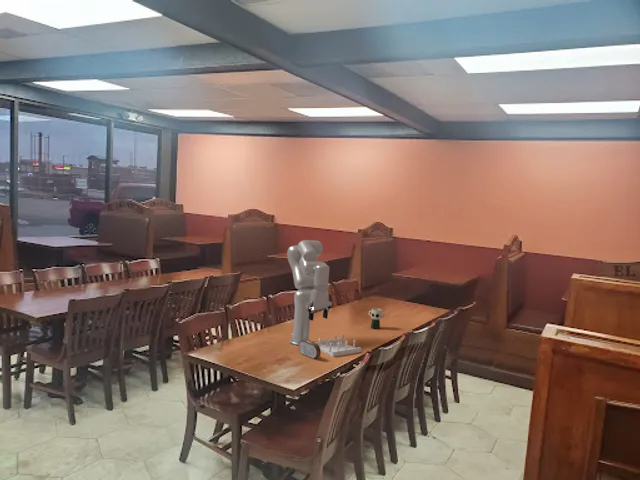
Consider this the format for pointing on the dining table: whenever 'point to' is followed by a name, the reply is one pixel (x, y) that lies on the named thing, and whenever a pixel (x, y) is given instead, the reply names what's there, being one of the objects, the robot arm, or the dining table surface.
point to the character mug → (376, 317)
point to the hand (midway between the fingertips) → (318, 318)
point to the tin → (309, 349)
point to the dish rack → (337, 347)
